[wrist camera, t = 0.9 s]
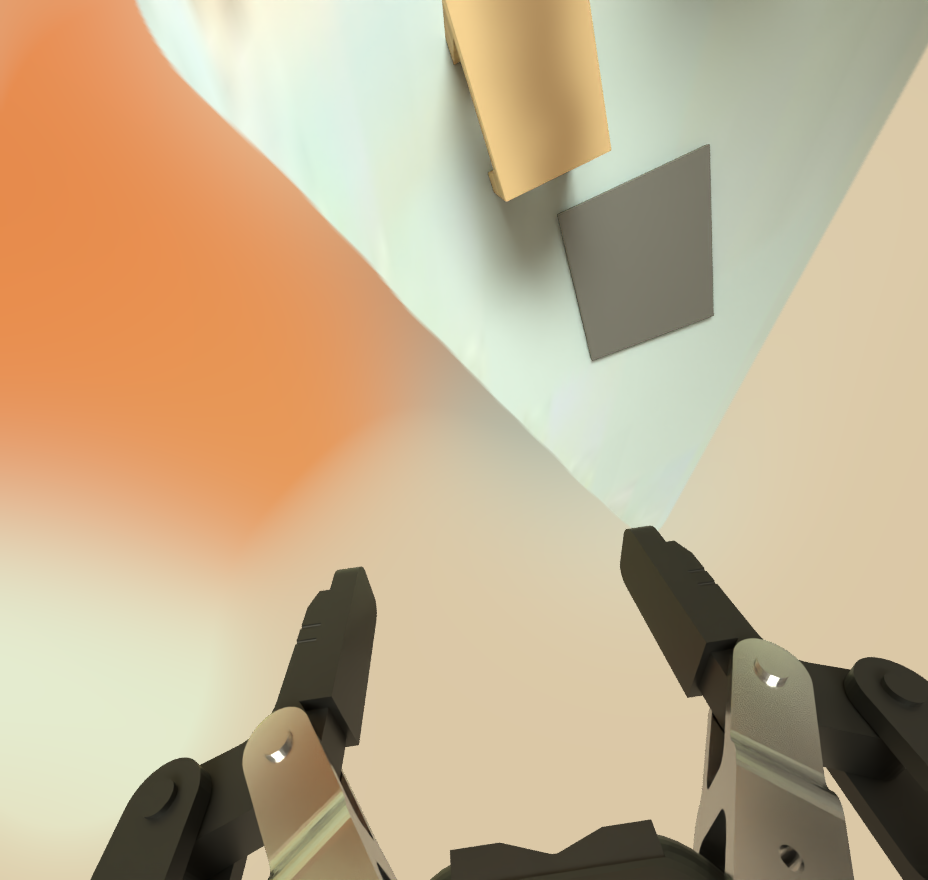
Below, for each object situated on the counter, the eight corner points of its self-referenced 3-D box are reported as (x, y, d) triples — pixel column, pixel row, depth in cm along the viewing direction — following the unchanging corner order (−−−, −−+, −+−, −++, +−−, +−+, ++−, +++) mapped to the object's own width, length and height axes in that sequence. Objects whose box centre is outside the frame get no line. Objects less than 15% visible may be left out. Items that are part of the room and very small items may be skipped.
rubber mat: (557, 214, 27) (558, 215, 26) (706, 144, 24) (709, 144, 24) (591, 358, 33) (592, 360, 33) (710, 314, 31) (713, 315, 31)
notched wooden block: (493, 192, 26) (506, 201, 19) (445, 37, 21) (440, -17, 15) (570, 153, 25) (611, 150, 18) (536, -19, 20) (574, -104, 14)
